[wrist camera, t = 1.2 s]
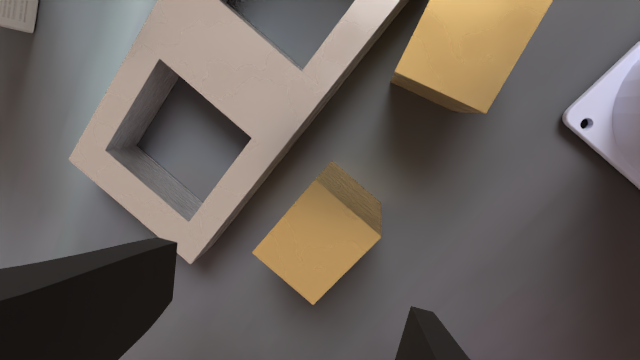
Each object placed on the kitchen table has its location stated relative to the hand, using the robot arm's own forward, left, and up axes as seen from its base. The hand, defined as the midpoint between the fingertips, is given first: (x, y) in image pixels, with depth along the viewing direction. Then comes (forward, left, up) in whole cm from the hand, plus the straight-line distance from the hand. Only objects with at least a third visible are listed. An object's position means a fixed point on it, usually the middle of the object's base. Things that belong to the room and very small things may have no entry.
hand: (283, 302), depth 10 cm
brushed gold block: (0, 0, -10) cm, 10 cm away
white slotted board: (+8, -3, -9) cm, 13 cm away
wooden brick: (+1, -10, -10) cm, 14 cm away
